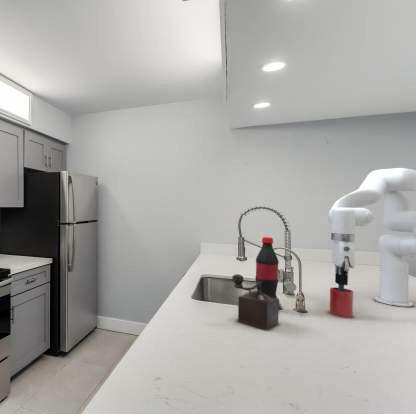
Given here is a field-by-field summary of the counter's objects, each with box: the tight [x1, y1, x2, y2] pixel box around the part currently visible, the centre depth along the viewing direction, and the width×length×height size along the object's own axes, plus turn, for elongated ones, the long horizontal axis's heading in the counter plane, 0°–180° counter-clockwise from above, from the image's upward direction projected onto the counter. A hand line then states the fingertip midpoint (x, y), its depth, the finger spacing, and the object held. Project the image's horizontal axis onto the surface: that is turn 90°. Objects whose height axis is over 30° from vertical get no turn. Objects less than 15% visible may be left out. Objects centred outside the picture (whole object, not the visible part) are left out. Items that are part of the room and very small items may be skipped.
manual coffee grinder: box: [231, 273, 280, 331], centre depth 113 cm, size 16×11×18 cm
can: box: [329, 287, 354, 319], centre depth 126 cm, size 7×7×10 cm
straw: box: [337, 283, 345, 292], centre depth 126 cm, size 2×2×14 cm
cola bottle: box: [255, 236, 280, 298], centre depth 132 cm, size 8×8×30 cm
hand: (341, 283), depth 126 cm, fingers closed on straw, 1 cm apart
